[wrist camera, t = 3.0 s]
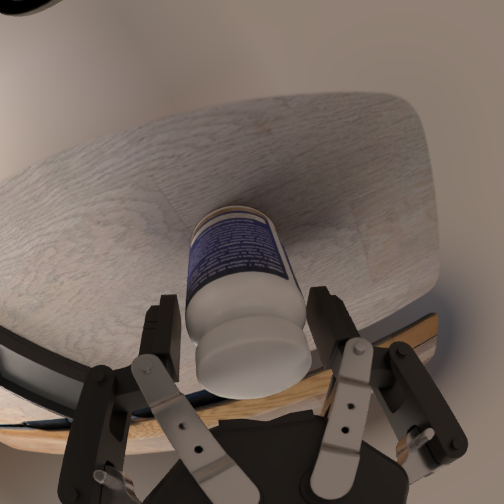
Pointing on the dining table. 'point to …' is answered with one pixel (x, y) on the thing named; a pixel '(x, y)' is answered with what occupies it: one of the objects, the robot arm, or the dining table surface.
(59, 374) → the serving tray
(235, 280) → the pill bottle
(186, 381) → the dining table surface
